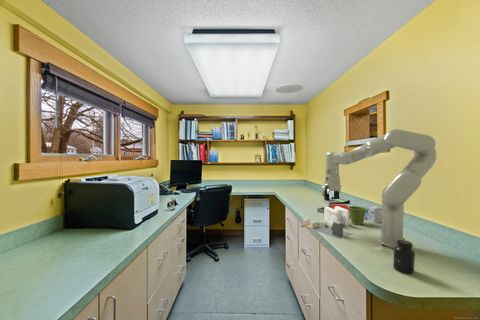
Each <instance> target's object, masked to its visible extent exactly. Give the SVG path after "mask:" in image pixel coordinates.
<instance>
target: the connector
mask: <svg viewBox="0 0 480 320" xmlns="http://www.w3.org/2000/svg"><path fill="white" fill-rule="evenodd" d="M343 231H344V226H343V223H342V222H339V221H335V222H334V223H333V232H332V235H335V236H338V237H340V236H343Z"/></svg>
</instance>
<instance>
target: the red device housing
mask: <svg viewBox="0 0 480 320" xmlns="http://www.w3.org/2000/svg"><path fill="white" fill-rule="evenodd" d="M328 206H329V207H330V208H332V209H335V206H339V207H341V208H344V209H347V210H348V211H349V208H348V207H349V205H346V204H335V203H330V204H328ZM349 213H350V211H349Z"/></svg>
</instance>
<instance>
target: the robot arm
mask: <svg viewBox="0 0 480 320" xmlns="http://www.w3.org/2000/svg"><path fill="white" fill-rule="evenodd" d="M397 147H398V148H401V149H404V150H409V151H413V154H414V155H413V157H412V158H411V160H410V161H409V162H408V163H407V164H406V166H405V167H403V169H402V170H401V171H400V172H399V173H397V175H396V177H395V178H394V179H393V180H392V181H391V183H390V184H389V185H388V186H386V187H385V188H383V190H382V193H381V208H382V212H381V222H380V223H381V224H380V225H381V227H380V232H381V233H380V234H381V235H380V237H379V238H377V242H379V243H381V246H383V247H387V248H389V249H390V248H391V249H394V247H395V246H398V245H397V241H398V240H406V238H405V237H404V210H405V209H404V208H405V206H404V205H405V203H406V201H407V200H409V198H410V197H412V195H414V193H415V192H416V191H417V190H418V189H419V188H420V186H421V184H422V179H423V177H425V175H426V174H427V173H428V172H429V171H430V169H432V167H433V166H434V164H435V162H436V160H437V150H436V140H435V139H434V138H433V137H432V136H430V135H427V134H424V133H418V132H415V131H414V132H413V131H408V130H403V129H399V128H395V129H391V130H389V131H388V132H387V133H385V134H382V135H380V136H377V137H375V138H373V139H371V140H368V141H366V142H364V143H363V144H362V145H360V146H359V147H357V148H353V149H352V150H350V151H343V152H341V151H340V152H335V151H334V152H327V153H326V154H325V177H324V185H323V186H322V187H321V189H322V191H323V195H324V197H323V198H324V201H327V202H328V201H330V198H331V197H330V193H331V192H333V199H335V200H340V193H341V189H342V185H341V177H340V165H351V164H353V163H356V162H359V161H362V160H364V159H367V158H370V157H373V156H376V155H379V154H381V153H384V152H386V151H389V150H391V149H394V148H397ZM412 248H413V243H412Z"/></svg>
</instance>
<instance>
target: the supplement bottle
mask: <svg viewBox="0 0 480 320" xmlns="http://www.w3.org/2000/svg"><path fill="white" fill-rule="evenodd" d="M412 244H413V243H412V242H411V241H409V240H406V239H405V240H398V241H397V245H398V246H395V247H394V248H393V262H392V263H393V264H392V266H393V268H394V270H395V271H397V272H399V273H402V274H404V275H413V274H414V273H415V264H416V263H415V259H416V252H415V251H414V249H413V247H412Z"/></svg>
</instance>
